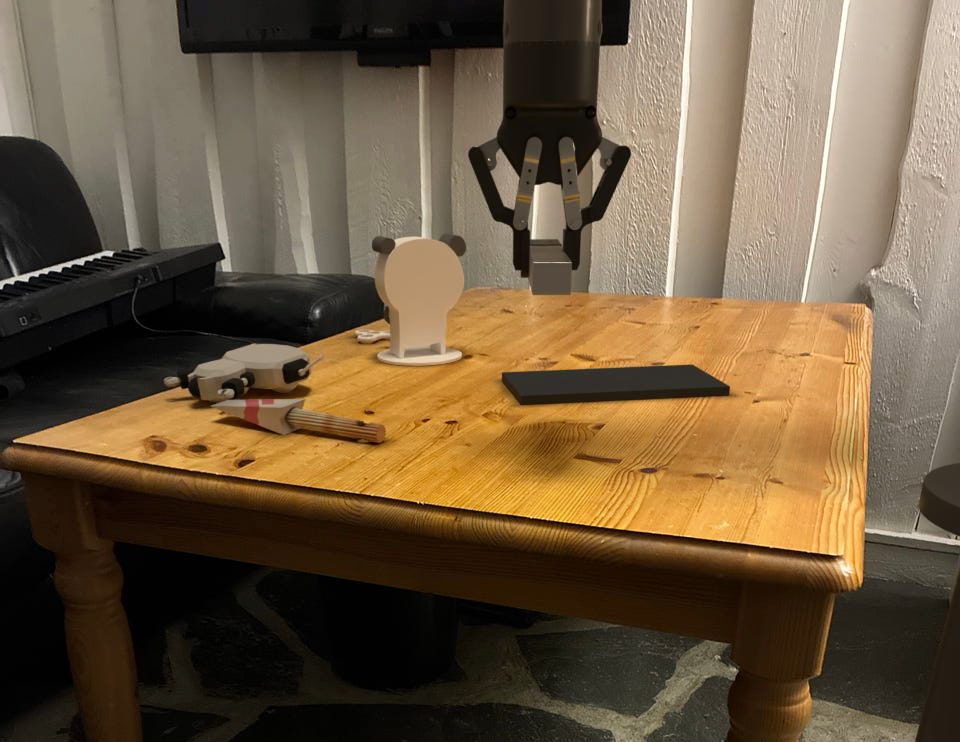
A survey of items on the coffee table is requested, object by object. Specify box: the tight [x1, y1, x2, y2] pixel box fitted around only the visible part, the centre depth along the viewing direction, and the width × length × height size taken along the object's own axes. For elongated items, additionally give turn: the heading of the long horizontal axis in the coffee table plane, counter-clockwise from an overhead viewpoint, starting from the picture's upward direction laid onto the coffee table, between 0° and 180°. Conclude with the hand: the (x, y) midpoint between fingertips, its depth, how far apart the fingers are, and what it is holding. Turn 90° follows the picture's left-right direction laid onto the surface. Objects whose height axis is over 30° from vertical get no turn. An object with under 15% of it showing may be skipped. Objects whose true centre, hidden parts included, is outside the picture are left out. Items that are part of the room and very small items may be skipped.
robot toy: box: [163, 343, 325, 404], centre depth 106 cm, size 12×4×15 cm
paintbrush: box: [210, 398, 387, 444], centre depth 93 cm, size 4×3×20 cm
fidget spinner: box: [354, 329, 390, 343], centre depth 137 cm, size 7×6×1 cm
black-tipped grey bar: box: [527, 238, 573, 296], centre depth 80 cm, size 18×3×2 cm, turn 179°
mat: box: [501, 364, 731, 406], centre depth 109 cm, size 24×12×1 cm, turn 99°
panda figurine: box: [371, 233, 467, 367], centre depth 122 cm, size 12×11×15 cm
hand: (545, 275), depth 81 cm, fingers closed on black-tipped grey bar, 3 cm apart
